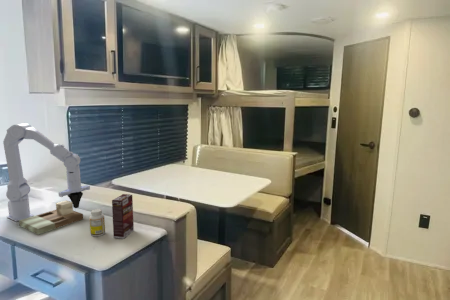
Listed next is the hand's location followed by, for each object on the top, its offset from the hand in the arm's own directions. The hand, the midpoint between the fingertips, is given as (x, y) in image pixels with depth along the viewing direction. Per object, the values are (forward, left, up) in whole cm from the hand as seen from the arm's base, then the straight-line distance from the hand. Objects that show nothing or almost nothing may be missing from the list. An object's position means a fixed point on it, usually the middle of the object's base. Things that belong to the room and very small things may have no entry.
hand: (76, 207), depth 150 cm
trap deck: (0, -12, -3) cm, 12 cm away
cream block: (0, -6, -1) cm, 6 cm away
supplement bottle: (+28, -8, -4) cm, 29 cm away
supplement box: (+37, -2, -4) cm, 37 cm away
